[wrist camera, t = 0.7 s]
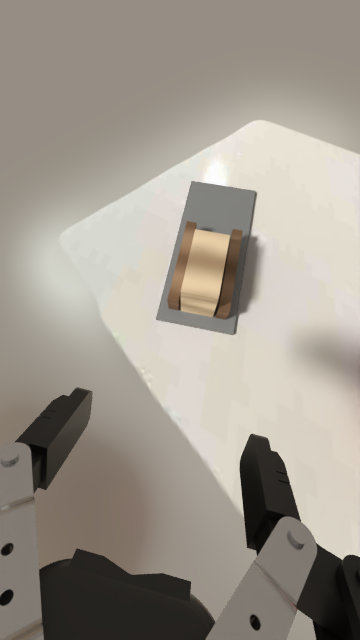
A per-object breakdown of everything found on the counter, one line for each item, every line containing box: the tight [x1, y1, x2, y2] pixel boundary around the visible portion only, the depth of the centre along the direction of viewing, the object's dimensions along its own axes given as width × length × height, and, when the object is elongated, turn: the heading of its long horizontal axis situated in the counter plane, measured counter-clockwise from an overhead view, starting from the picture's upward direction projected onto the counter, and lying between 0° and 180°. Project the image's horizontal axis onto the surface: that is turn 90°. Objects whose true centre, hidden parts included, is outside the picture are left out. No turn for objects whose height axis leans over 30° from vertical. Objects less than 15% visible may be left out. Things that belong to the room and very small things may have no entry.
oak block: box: [181, 229, 230, 317], centre depth 39 cm, size 10×5×7 cm, turn 168°
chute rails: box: [167, 221, 243, 320], centre depth 41 cm, size 14×9×4 cm, turn 168°
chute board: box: [156, 181, 255, 335], centre depth 44 cm, size 28×12×1 cm, turn 168°
